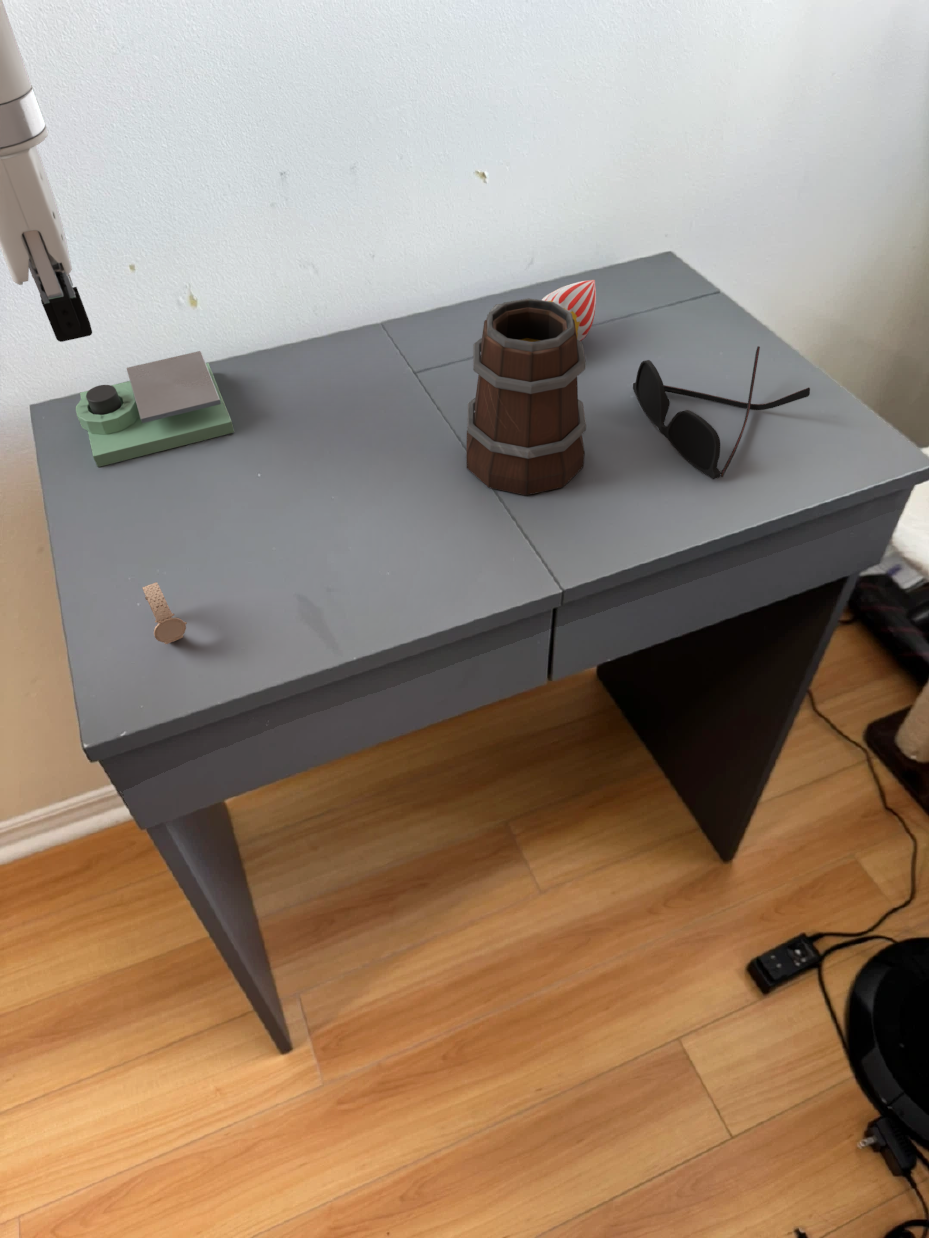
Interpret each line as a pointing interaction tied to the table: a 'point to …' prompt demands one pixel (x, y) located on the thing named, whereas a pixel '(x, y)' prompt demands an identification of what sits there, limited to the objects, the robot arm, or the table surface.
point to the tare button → (103, 399)
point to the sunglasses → (694, 417)
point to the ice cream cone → (577, 304)
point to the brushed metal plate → (172, 386)
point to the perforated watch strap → (163, 616)
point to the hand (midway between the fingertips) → (74, 334)
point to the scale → (147, 427)
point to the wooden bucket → (526, 399)
